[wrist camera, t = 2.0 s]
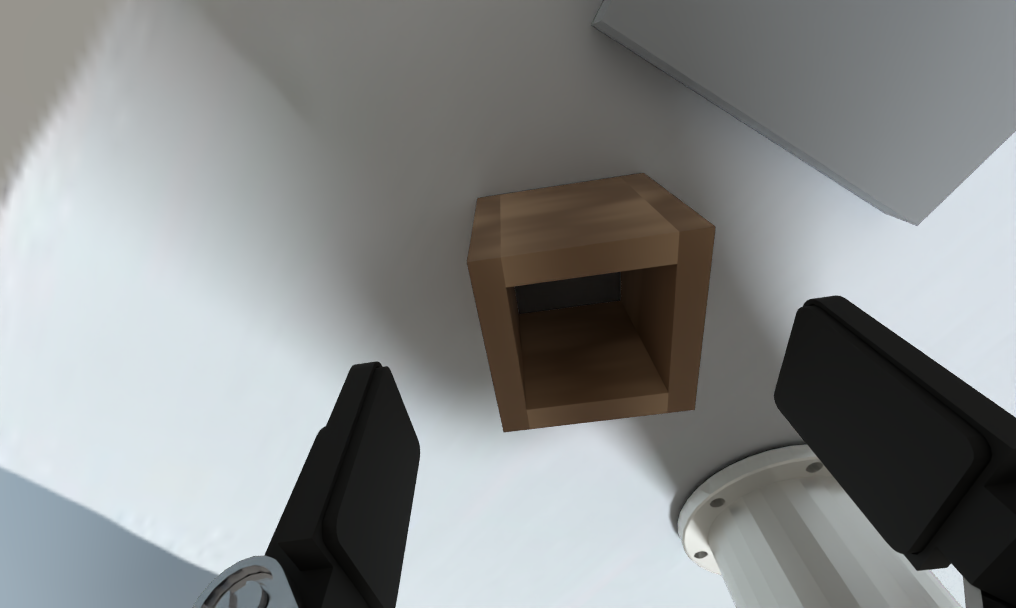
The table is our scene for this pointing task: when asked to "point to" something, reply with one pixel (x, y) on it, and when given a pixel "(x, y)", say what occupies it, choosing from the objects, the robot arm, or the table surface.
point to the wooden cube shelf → (596, 327)
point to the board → (846, 82)
